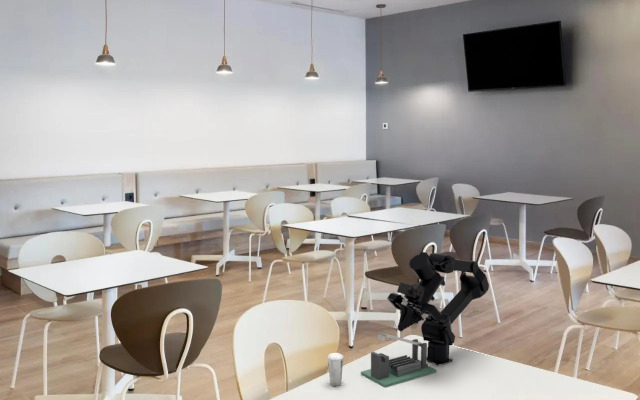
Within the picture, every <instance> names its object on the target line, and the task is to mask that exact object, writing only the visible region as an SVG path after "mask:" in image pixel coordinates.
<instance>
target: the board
mask: <svg viewBox="0 0 640 400" xmlns="http://www.w3.org/2000/svg"><path fill="white" fill-rule="evenodd" d="M411 358H412V357H410V359H411ZM437 372H438V371H437V369H436V368H434V367H432V366H430V365H428V367H427V368H423V369H422V368H421V371H418V372H415V373H411V374H408V375H405V376H401V377H396V376H394V375H392V374H390V373H389V377H387V378H384V379H380V380H378V379H376V378H374V377H372V376H371V368H369V369H366V370H363V371H360V375H361V376H363V377H365V378H366V379H369V380H370V381H372V382H373V383H376V384H378V385H380V386H381V387H383V388H388V387H391V386H395V385H398V384H401V383H404V382H408V381H411V380H415V379H417V378H422V377H424V376H428V375H432V374H435V373H437Z"/></svg>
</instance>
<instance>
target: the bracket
mask: <svg viewBox="0 0 640 400" xmlns="http://www.w3.org/2000/svg"><path fill="white" fill-rule="evenodd" d="M411 341H415V342H416V341H418V342H419V339H417V338H415V339H412V340H411ZM421 343H422V344H421V347H420V359H419V346H418V345H415V344H411V347H412V348H411V351H412V352H411V353H412V355H411V358H414V360H417V362H418V361H420V365H421V368H422V369H423V368H427V367H428V366H429V363H427V362H428V361H427V347H428V342H421Z"/></svg>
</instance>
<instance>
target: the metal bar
mask: <svg viewBox="0 0 640 400" xmlns="http://www.w3.org/2000/svg"><path fill="white" fill-rule="evenodd" d="M377 336H378V337H377V340H380V341H381V342H385V339H386V338H388V339H393V340H397V341H401V342H403V343H408V344H411V345H412V344H415V345H418V347H420V348H421V344H422V343H423V342H420V341H419V340H418V341H416V342H415V341H412V340H410V339H408V338H407V339H406V338H403V337H399V336H395V335H392V334H387V333H385V332H381V331H380V332H378V335H377Z"/></svg>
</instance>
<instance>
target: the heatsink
mask: <svg viewBox="0 0 640 400" xmlns="http://www.w3.org/2000/svg"><path fill="white" fill-rule="evenodd" d="M410 358H411V359H410ZM418 371H421V365H420V361H418V362H417V360H414V358H412V357H411V356H408V355H407V354H405V355H402V356H398V357H395V358H389V373H390V374H392V375H394V376H396V377H401V376H405V375H408V374H411V373H415V372H418Z"/></svg>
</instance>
